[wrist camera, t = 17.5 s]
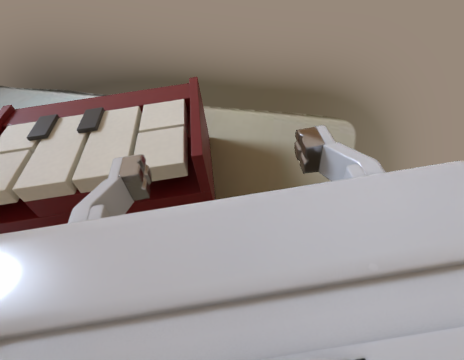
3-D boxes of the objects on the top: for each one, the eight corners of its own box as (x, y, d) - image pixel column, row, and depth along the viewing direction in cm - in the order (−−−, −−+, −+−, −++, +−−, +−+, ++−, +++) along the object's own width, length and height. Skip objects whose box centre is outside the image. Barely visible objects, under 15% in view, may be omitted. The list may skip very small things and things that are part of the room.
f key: (136, 184, 21) (130, 170, 20) (143, 146, 24) (137, 132, 23) (188, 176, 21) (183, 162, 20) (187, 139, 24) (184, 125, 23)
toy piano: (-1, 252, 25) (-76, 197, 19) (46, 161, 33) (3, 105, 28) (217, 218, 25) (202, 154, 20) (209, 136, 33) (197, 76, 28)
